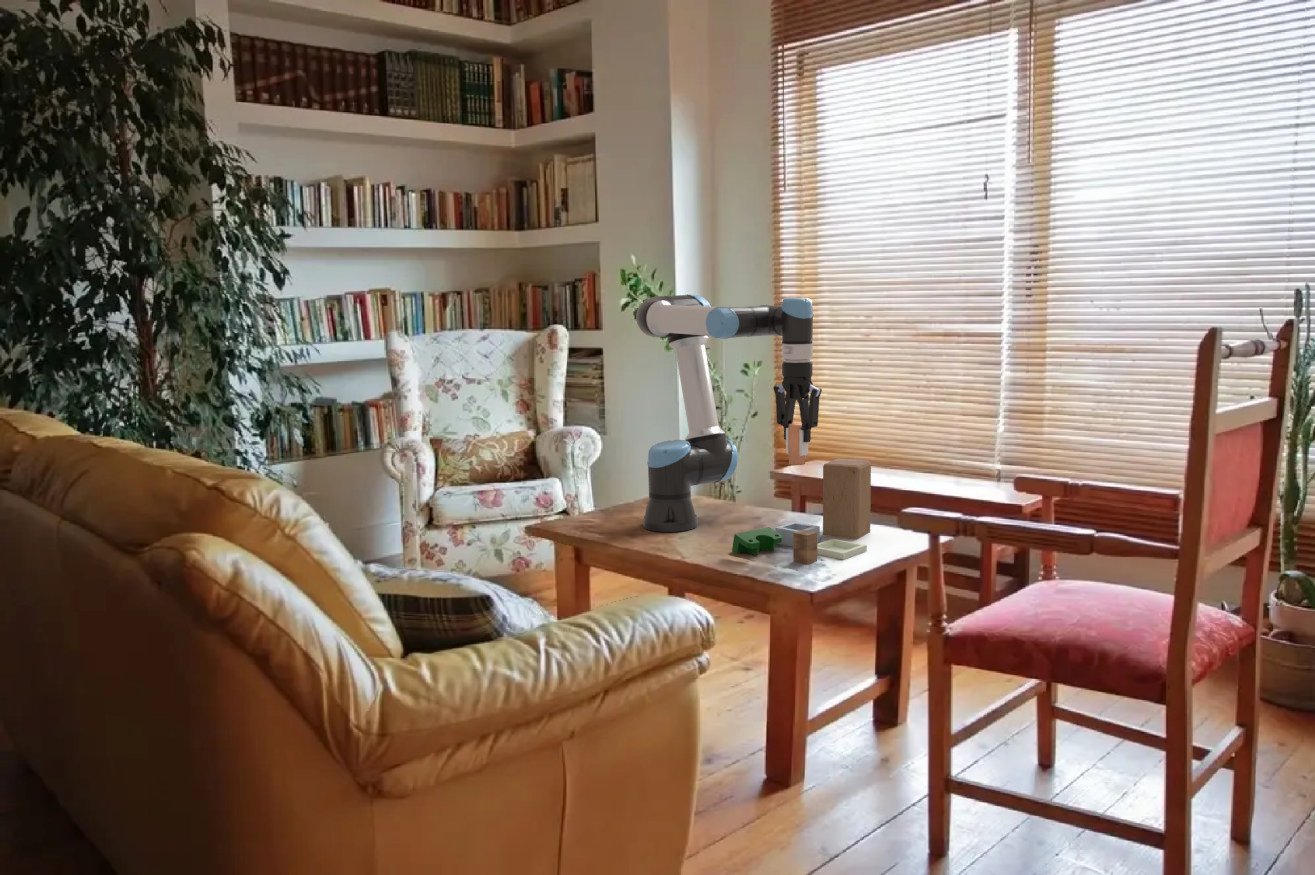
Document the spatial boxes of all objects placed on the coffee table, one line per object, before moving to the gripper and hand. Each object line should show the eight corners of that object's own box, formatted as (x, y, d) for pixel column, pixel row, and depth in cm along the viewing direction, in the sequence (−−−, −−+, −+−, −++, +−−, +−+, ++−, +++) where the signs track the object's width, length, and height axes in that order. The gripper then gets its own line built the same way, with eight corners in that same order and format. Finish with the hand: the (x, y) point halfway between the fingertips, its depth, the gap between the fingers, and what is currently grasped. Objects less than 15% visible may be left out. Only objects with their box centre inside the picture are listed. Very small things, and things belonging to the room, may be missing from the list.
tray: (809, 556, 253) (809, 546, 252) (832, 548, 260) (832, 538, 260) (843, 563, 246) (843, 553, 246) (866, 554, 253) (866, 545, 253)
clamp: (750, 576, 253) (743, 547, 248) (735, 565, 257) (728, 537, 253) (787, 551, 257) (781, 523, 252) (772, 541, 262) (766, 513, 257)
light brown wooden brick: (793, 565, 245) (793, 532, 244) (803, 562, 248) (803, 529, 247) (807, 568, 242) (807, 535, 241) (817, 565, 245) (817, 532, 244)
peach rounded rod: (785, 464, 259) (785, 424, 258) (795, 461, 262) (795, 422, 261) (798, 465, 257) (798, 426, 255) (808, 463, 259) (808, 424, 258)
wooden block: (857, 543, 264) (858, 466, 261) (821, 538, 270) (821, 463, 266) (871, 534, 273) (872, 460, 270) (836, 530, 278) (836, 457, 275)
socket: (775, 546, 263) (775, 527, 262) (794, 540, 268) (794, 521, 267) (800, 552, 257) (800, 532, 256) (819, 545, 263) (819, 526, 262)
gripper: (761, 360, 259) (761, 452, 262) (815, 363, 247) (815, 459, 251) (780, 358, 264) (780, 448, 267) (833, 361, 252) (833, 455, 256)
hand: (797, 453), depth 259 cm, fingers closed on peach rounded rod, 3 cm apart
